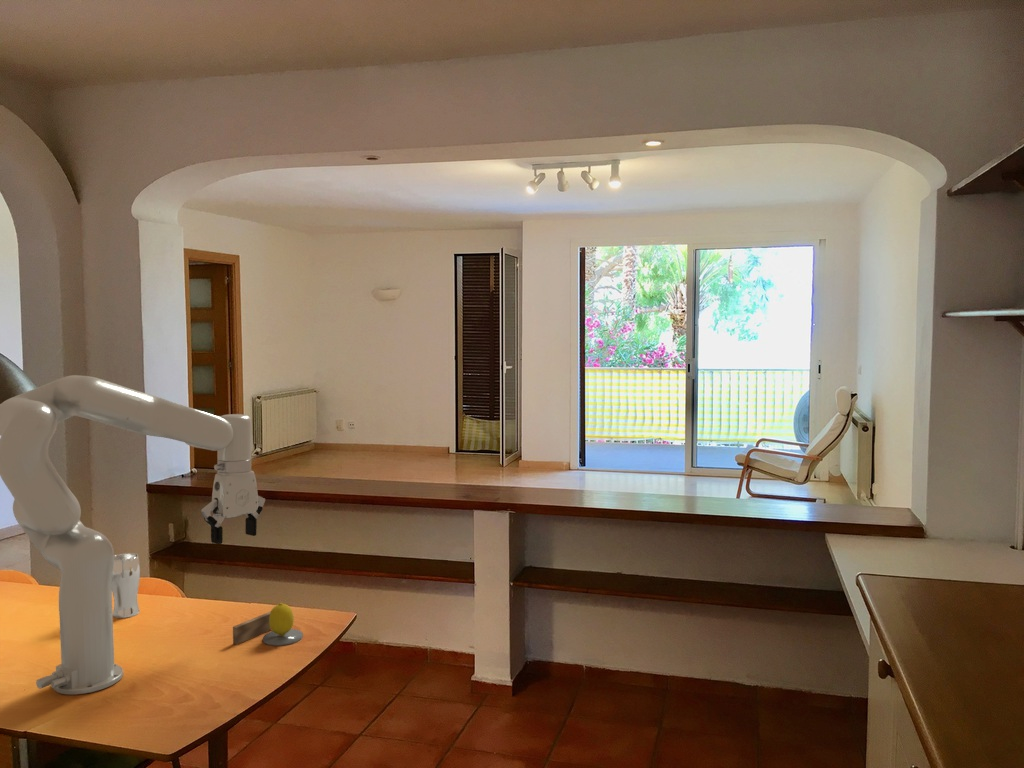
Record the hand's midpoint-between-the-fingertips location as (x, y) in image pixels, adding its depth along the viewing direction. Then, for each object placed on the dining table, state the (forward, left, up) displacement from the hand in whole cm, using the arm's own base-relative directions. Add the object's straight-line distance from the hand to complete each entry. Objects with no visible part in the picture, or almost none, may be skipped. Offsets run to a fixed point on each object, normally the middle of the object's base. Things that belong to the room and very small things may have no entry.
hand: (234, 538), depth 181 cm
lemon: (+4, -11, -23) cm, 26 cm away
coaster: (+4, -11, -23) cm, 26 cm away
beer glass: (-4, +36, -23) cm, 43 cm away
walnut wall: (+4, -4, -23) cm, 24 cm away
